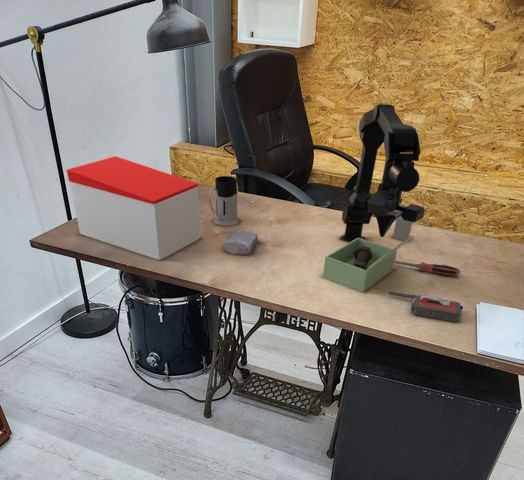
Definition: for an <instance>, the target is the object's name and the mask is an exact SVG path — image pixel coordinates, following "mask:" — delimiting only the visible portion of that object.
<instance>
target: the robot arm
mask: <svg viewBox="0 0 524 480" xmlns="http://www.w3.org/2000/svg"><path fill="white" fill-rule="evenodd" d="M358 132H359V138H360V141H361V143H362V148H361V149H362V150H361V154H360V155H361V156H360V160H359V166H358V172H357V178H356V184H355V189H354V192H353V193H352V194H351V196H350V197H349V198H348V201H347V204H346V205H345V207H344V208H343V211H342V213H341V220H342V222H343V224H344V225H345V229H344V234H343V235H342V236H340V240H343V241H346V242H348V243H350V242H351V241H353V240H355V239H357V238H360V239H364V240H366V237H365V236H363V228H364V225H370V223H371V219H372V216H374V217H375V218H376V222H377V228H378V233H379V237H380V238H384V237H385V236H386V234H387V233H388V232H389V230H390V228H391V227H392V225H393V224H394V223H395V222H396V219H397V218H399V217H400V216H401V217H402V218H403V220H406V221H410V222H413V223H416V222H418V221H420V220H421V219H423V218H424V216H425V213H426V211H425V208H424V206H421V205H417V204H414V203H410V204H409V205H407V206H405V205H400V204H402V203H403V198H402V194H403V192H405V193H408V192H411V191H413V190H414V189H415V188H416V187H417V186H418V185H419V182H420V173H419V171H418V170H417V169H416V168H415V164H416V163H415V162H418V161H419V160H420V155H421V146H420V138H419V133H418V131H417V129H416V127H414V126H412V125H410V124H405V123H404V122H403V121H402V119H401V118H400V117H399V115H398V114H397V112H396V111H395V105H392V104H386V103H378V104H375V105H374V107H373V108H372V109H369V110H368V111H367V112H365V113H364V114H363V115H362V117H361V118H360V119H359V123H358ZM382 145H383V146H384V148H383V149H384V154H385V161H384V167H383V172H382V178H381V182H380V183H378V186H377V190H376V192H374V193H371V186H372V181H373V176H374V171H375V167H376V161H377V156H378V151H379V149H380V147H381V146H382ZM404 206H405V207H404Z"/></svg>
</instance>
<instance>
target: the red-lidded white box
mask: <svg viewBox="0 0 524 480" xmlns="http://www.w3.org/2000/svg"><path fill="white" fill-rule="evenodd" d="M66 173H67V179H68V182H69V186H70V190H71V195H72V200H73V205H74V210H75V215H76V216H75V217H76V221H77V226H78V231H79V235H82V236H86V237H88V238H92V239H95V240H98V241H101V242H104V243H106V244H110V245H112V246H116V247H117V248H121V249H124V250H127V251H131V252H132V253H133V252H134V253H136V254H140V255H141V256H146V257H148V258H152V259H155V260H157V261H161V260H163V259H165V258H167V257H168V256H170V255H172V254H174V253H177V252H178V251H179V250H181V249H183V248H185V247H187V246H189V245H191V244H193V243H194V242H197V241H198V240H200V239H201V227H200V226H201V225H200V204H199V203H200V202H199V199H200V198H199V184H198V183H197V182H194V181H191V180H188V179H186V178H182V177H179V176H177V175H173V174H171V173H168V172H164V171H162V170H159V169H156V168H152V167H149V166H146V165H144V164H141V163H138V162H134V161H131V160H129V159H125V158H123V157H120V156H116V155H115V156H111V157H108V158H105V159H104V158H103V159H101V160H96V161H93V162H90V163H85V164H82V165H78V166H75V167H72V168H68V169H66Z"/></svg>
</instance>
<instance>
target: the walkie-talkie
mask: <svg viewBox="0 0 524 480" xmlns="http://www.w3.org/2000/svg"><path fill="white" fill-rule="evenodd" d="M386 293H387V295H389V296H394V297H399V298H405V299H410V300H412V302H411V308H410V310H411V311H413V315H415V316H421V317H424V318H431V319H436V320H442V321H447V322H453V323H455V322H456V323H457V322H459V319H460V317H461V312H462V311H463V308H464V306H463V305H461V302H459V301H454V300H451V299H442V298H440V296H437V295H432V294H426V293H420V292H417V293H416V294H411V293H410V294H409V293H403V292H397V291H391V290H388V291H387V292H386Z"/></svg>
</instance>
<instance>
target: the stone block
mask: <svg viewBox="0 0 524 480" xmlns="http://www.w3.org/2000/svg"><path fill="white" fill-rule="evenodd" d="M258 239H259V234H258V233H255V232H252V231H248V230H237V231H232V232H230V234H228V235H227V237H226V238H225V240H224V241H223V243H222V245H223V250H224V251H225V253H229V254H232V255H243V256H245V255H246V256H250V255H251V253H252V251H253V250H254V248H255V246H256V244H257V243H258Z"/></svg>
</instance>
